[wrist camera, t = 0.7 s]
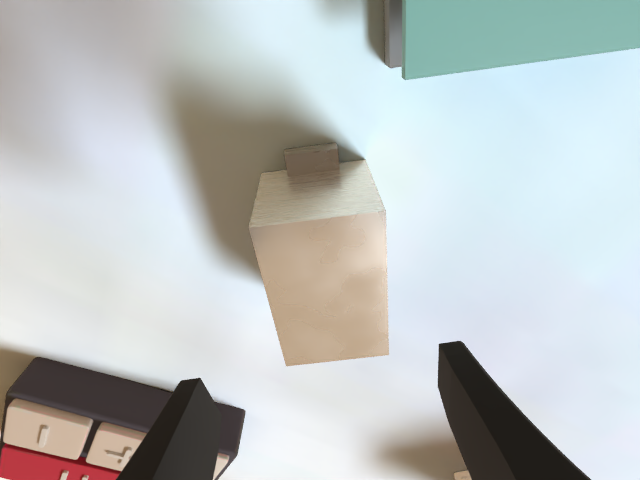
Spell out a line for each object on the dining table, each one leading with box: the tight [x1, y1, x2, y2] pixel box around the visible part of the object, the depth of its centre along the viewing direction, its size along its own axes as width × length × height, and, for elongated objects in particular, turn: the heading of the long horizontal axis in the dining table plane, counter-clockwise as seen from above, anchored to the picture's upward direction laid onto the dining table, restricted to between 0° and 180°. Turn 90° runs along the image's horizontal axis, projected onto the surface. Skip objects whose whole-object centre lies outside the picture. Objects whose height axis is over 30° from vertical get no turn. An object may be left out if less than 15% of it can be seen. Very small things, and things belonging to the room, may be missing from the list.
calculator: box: [0, 357, 245, 480], centre depth 27 cm, size 11×4×15 cm
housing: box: [249, 143, 389, 366], centre depth 17 cm, size 5×10×5 cm, turn 7°
